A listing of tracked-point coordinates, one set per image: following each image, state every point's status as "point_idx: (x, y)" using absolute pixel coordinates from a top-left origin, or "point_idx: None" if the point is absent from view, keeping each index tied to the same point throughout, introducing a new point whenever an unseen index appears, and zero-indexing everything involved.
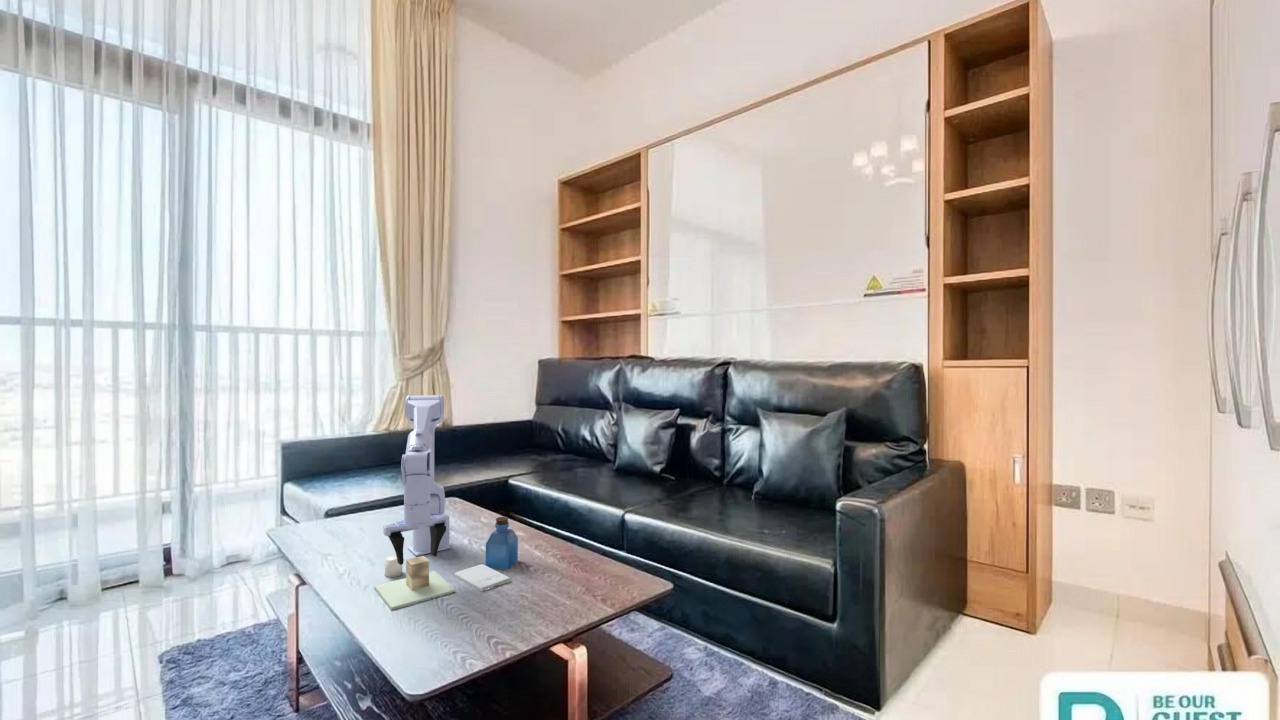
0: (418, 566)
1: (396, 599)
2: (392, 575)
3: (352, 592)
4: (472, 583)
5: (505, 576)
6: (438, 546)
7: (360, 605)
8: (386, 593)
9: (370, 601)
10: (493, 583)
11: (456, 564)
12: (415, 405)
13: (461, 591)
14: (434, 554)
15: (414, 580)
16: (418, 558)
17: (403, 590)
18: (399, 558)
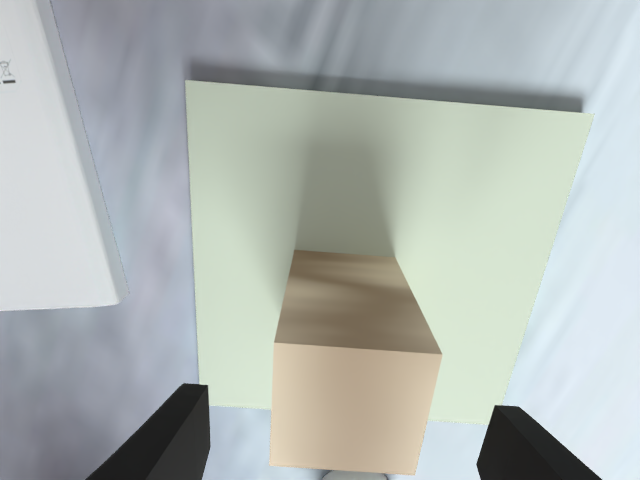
0: (372, 330)
1: (512, 203)
2: (374, 475)
3: (572, 434)
4: (54, 82)
5: None
6: (108, 459)
7: (637, 289)
8: (505, 310)
9: (580, 299)
10: None
11: (76, 417)
12: None
13: (152, 64)
14: (194, 398)
15: (387, 281)
16: (326, 441)
17: (426, 287)
18: (577, 459)
